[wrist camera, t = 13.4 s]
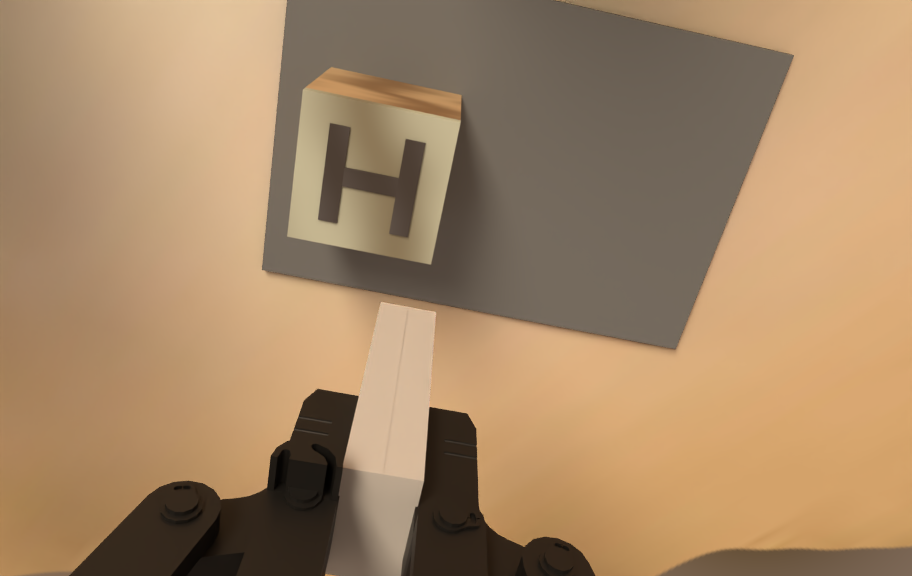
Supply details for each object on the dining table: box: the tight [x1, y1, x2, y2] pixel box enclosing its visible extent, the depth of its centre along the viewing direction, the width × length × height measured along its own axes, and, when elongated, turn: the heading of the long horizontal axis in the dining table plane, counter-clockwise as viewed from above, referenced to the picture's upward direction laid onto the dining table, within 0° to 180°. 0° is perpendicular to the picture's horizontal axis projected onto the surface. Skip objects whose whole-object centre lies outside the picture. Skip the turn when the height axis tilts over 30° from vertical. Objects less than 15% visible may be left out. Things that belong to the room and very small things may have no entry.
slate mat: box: [262, 0, 794, 349], centre depth 38 cm, size 26×18×1 cm
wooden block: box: [287, 67, 462, 265], centre depth 35 cm, size 7×7×7 cm
